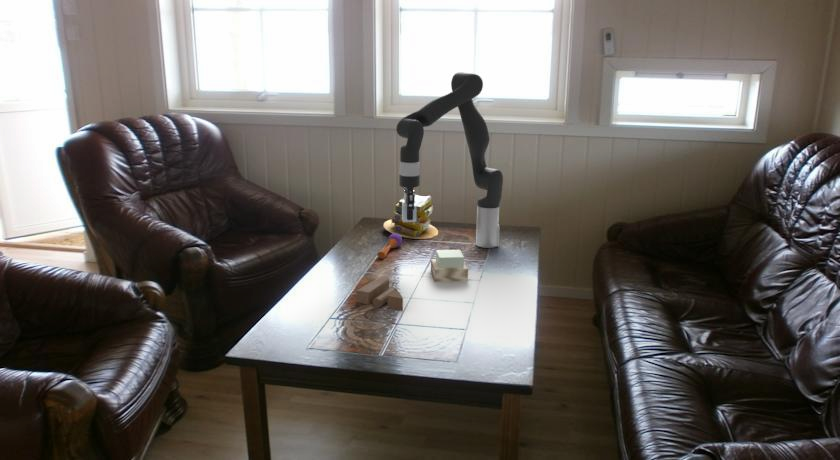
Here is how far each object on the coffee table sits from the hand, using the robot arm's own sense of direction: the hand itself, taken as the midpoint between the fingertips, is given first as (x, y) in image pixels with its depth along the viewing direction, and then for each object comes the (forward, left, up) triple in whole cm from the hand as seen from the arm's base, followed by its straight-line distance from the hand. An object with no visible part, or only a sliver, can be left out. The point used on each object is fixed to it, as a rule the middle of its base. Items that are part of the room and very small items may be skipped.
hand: (409, 217), depth 248 cm
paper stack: (-6, -47, -20) cm, 51 cm away
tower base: (-14, +12, -20) cm, 27 cm away
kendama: (+6, -18, -20) cm, 28 cm away
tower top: (-14, +12, -15) cm, 24 cm away
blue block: (0, 0, -1) cm, 1 cm away
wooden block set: (+9, +33, -20) cm, 40 cm away
